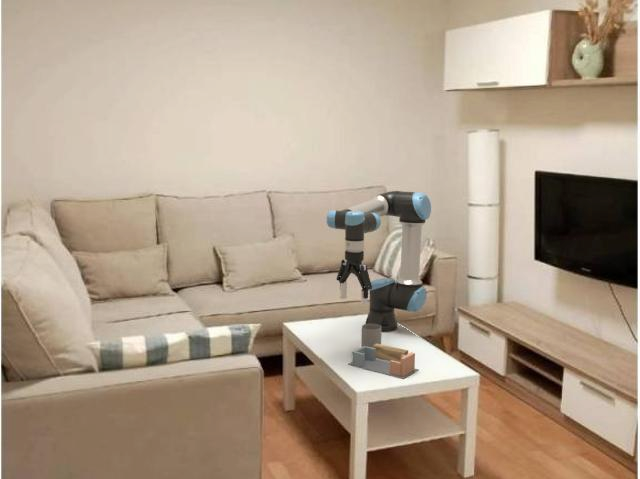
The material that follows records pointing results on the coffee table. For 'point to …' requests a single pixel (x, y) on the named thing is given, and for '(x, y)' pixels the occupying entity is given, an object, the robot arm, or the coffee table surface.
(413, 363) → the endcap
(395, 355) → the tan wooden block
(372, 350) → the seat
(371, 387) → the coffee table surface
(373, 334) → the cup
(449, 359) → the coffee table surface
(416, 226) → the robot arm
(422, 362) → the coffee table surface
